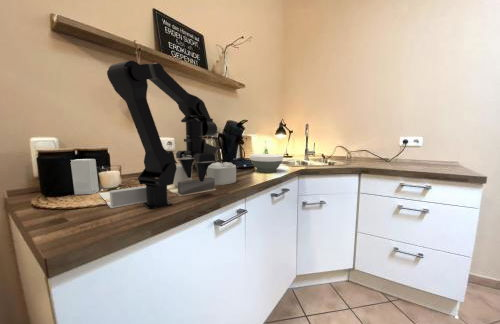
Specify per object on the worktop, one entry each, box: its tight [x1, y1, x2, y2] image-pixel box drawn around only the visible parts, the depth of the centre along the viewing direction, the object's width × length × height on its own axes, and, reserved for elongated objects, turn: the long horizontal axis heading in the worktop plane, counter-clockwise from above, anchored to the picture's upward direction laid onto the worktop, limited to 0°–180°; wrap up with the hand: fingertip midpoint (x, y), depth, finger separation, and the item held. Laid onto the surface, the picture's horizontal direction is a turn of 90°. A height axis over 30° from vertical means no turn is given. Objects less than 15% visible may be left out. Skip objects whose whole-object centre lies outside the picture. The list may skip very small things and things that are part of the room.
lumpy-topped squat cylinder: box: [206, 161, 237, 186], centre depth 99 cm, size 10×13×9 cm
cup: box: [173, 164, 193, 186], centre depth 90 cm, size 11×8×8 cm
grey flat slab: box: [98, 185, 147, 209], centre depth 74 cm, size 20×14×4 cm
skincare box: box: [70, 158, 100, 196], centre depth 78 cm, size 6×4×12 cm
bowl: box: [249, 153, 284, 174], centre depth 130 cm, size 20×20×10 cm
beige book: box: [167, 177, 217, 197], centre depth 86 cm, size 20×14×4 cm
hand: (195, 179), depth 80 cm, fingers open, 9 cm apart
